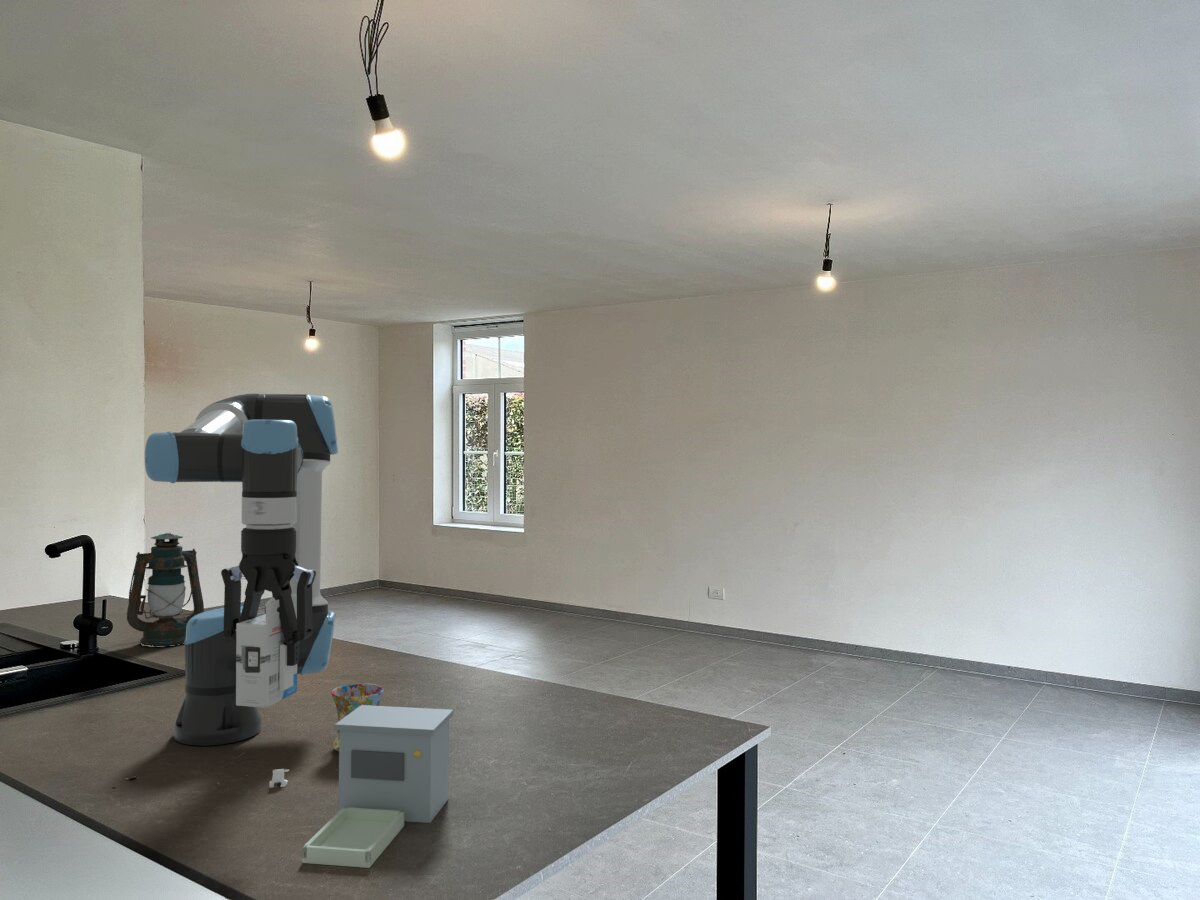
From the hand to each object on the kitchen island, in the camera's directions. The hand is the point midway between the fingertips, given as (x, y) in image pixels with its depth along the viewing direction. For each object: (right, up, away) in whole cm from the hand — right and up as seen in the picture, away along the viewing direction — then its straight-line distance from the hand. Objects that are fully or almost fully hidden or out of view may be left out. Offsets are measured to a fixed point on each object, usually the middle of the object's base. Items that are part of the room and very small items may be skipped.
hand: (267, 686), depth 131 cm
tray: (+14, -20, -6) cm, 25 cm away
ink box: (0, -2, 0) cm, 2 cm away
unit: (+17, -20, +6) cm, 27 cm away
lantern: (-71, -18, +116) cm, 137 cm away
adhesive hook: (-4, -20, +16) cm, 26 cm away
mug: (+3, -20, +33) cm, 39 cm away
